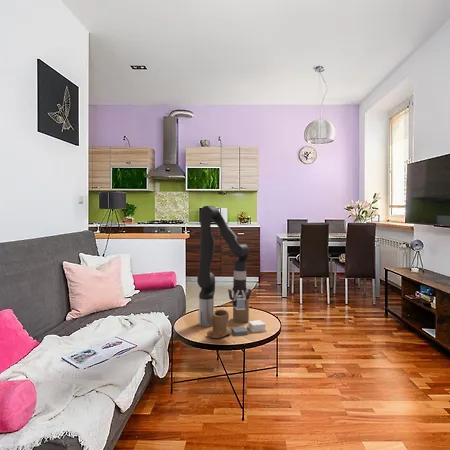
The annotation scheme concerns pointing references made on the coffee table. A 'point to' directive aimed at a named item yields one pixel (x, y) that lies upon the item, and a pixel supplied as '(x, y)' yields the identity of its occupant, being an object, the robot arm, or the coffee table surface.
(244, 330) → the stand
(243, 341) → the coffee table surface
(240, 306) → the housing
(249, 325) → the stand
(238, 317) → the block
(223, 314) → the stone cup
